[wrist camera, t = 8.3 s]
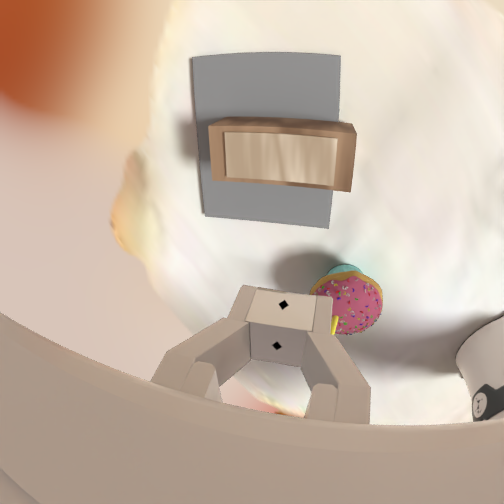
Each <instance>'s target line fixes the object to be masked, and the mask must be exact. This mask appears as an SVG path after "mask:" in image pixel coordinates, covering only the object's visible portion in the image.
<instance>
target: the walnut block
mask: <svg viewBox="0 0 504 504" xmlns="http://www.w3.org/2000/svg"><path fill="white" fill-rule="evenodd" d="M208 129H209V144H210V158H211V172H212V181H229V182H246V183H260V184H273V185H285V186H296V187H307V188H317V189H326V190H335V191H343V192H351V185H352V177H353V168H354V159H355V149H356V138H357V133H356V131H355V129H354V127H353V125H352V124H351V123H342V122H333V121H323V120H311V119H297V118H279V117H225V118H223V119H221V120H219V121H217V122H215V123H213V124H211V125H209V126H208Z"/></svg>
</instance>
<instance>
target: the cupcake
mask: <svg viewBox="0 0 504 504" xmlns="http://www.w3.org/2000/svg"><path fill="white" fill-rule="evenodd" d="M310 295H316V296H317V295H318V296H327V297H332V298H333V305H332V319H331V332H330V334H332V335H334V334H335V333H336V334H346V335H347V334H350V335H352V334H354V333H358V332H362V331H365V329H367V328H368V327H369V326H372V325H373V324H374V322H376V321H377V319H378V318H379V315H381V314H380V313H381V311H382V305H383V300H382V290H381V288H380V286H379V285H378V284H377V283H376V282H375V281H374V280H373V279H371V278H369V277H368V276H366V275H364V274H363V273H362V272H361V270H359V269H358V268H357V267H355V266H352V265H339V266H336V267H334V268H333V269H331V270H330V271H329V272H328V274H327V276H324V277H323V278H321V279H319V280H318V281H317V283H316V284H315V285H314V286H313V287H312V289H311V291H310Z"/></svg>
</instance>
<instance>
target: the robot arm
mask: <svg viewBox="0 0 504 504" xmlns="http://www.w3.org/2000/svg"><path fill="white" fill-rule="evenodd" d="M332 305H333V298H332V297H327V296H318V295H317V296H316V295H308V294H300V293H292V292H285V291H279V290H273V289H267V288H261V287H253V286H247V285H243V286H242V287H241V288H240V290H239V293H238V295H237V297H236V300H235V302H234V304H233V307H232V309H231V311H230V313H229V316H228V318H222V319H220V320H219V321H217V322H215V323H214V324H212V325H210V326H209V327H207V328H205V329H204V330H202V331H200V332H199V333H197V334H195V335H194V336H192V337H190V338H189V339H187V340H185V341H184V342H182V343H180V344H179V345H177V346H175V347H174V348H172V349H170V350H169V351H167V352H166V354H165V356H164V358H163V360H162V361H161V363H160V365H159V367H158V368H157V370H156V372H155V374H154V376H153V377H152V379H151V381H150V382H149V381H146V380H143V379H140V378H138V377H135V376H132V375H129V374H127V373H124V372H121V371H119V370H116V369H114V368H111V367H109V366H106V365H104V364H101V363H99V362H97V361H94V360H92V359H89V358H87V357H85V356H82V355H80V354H78V353H76V352H74V351H72V350H69V349H67V348H65V347H63V346H61V345H59V344H57V343H55V342H53V341H51V340H49V339H47V338H45V337H43V336H41V335H39V334H37V333H35V332H33V331H32V330H30V329H28V328H26V327H24V326H23V325H21V324H19V323H17V322H16V321H14V320H12V319H10V318H9V317H7V316H5V315H4V314H2V313H0V504H504V316H503V317H501V318H499V319H497V320H495V321H493V322H491V323H489V324H487V325H485V326H484V327H482V328H480V329H479V330H478V331H476V332H475V333H474V334H473V335H471V336H470V337H469V338H468V339H467V340H466V341H465V342H464V344H463V345H462V346H461V348H460V349H459V351H458V353H457V356H456V365H457V367H458V368H459V370H460V372H461V374H462V376H463V378H464V380H465V382H466V385H467V388H468V391H469V394H470V397H471V400H472V416H473V422H468V423H456V424H440V425H372V424H369V422H370V395H371V387H370V386H369V385H368V383H367V382H366V380H365V379H364V377H363V376H362V374H361V373H360V371H359V370H358V368H357V367H356V365H355V364H354V362H353V361H352V359H351V358H350V356H349V355H348V353H347V352H346V351H345V349H344V348H343V346H342V345H341V343H340V342H339V340H338V339H337V337H336V336H335V335H332V334H330V332H331V319H332ZM250 359H255V360H261V361H268V362H275V363H280V364H286V365H291V366H297V367H301V370H302V372H303V375H304V377H305V379H306V381H307V384H308V386H309V388H310V390H311V396H310V399H309V403H308V406H307V409H306V413H305V416H304V418H299V417H292V416H286V415H280V414H274V413H269V412H263V411H258V410H253V409H248V408H243V407H239V406H234V405H230V404H226V403H222V398H221V393H220V389H219V387H220V386H221V385H222V384H223V383H225V382H226V381H227V380H228V379H229V378H231V377H232V376H233V375H234V374H235V373H236V372H238V371H239V370H240V369H241V368H242V367H243V366H244V365H246V364H247V363H248V362H249V361H250Z"/></svg>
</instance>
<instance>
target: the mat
mask: <svg viewBox="0 0 504 504" xmlns="http://www.w3.org/2000/svg"><path fill="white" fill-rule="evenodd" d="M192 60H193V79H194V95H195V110H196V124H197V137H198V149H199V160H200V171H201V182H202V192H203V202H204V211H205V216H206V217H218V218H229V219H240V220H250V221H261V222H271V223H281V224H290V225H299V226H309V227H318V228H326V229H329V222H330V214H331V205H332V195H333V190H326V189H317V188H307V187H296V186H285V185H273V184H260V183H246V182H229V181H212V172H211V158H210V144H209V129H208V126H209V125H211V124H213V123H215V122H217V121H219V120H221V119H223V118H225V117H279V118H297V119H311V120H323V121H333V122H338V120H339V99H340V64H341V56H339V55H328V54H314V53H291V52H257V53H234V54H220V55H209V56H199V57H192Z"/></svg>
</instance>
